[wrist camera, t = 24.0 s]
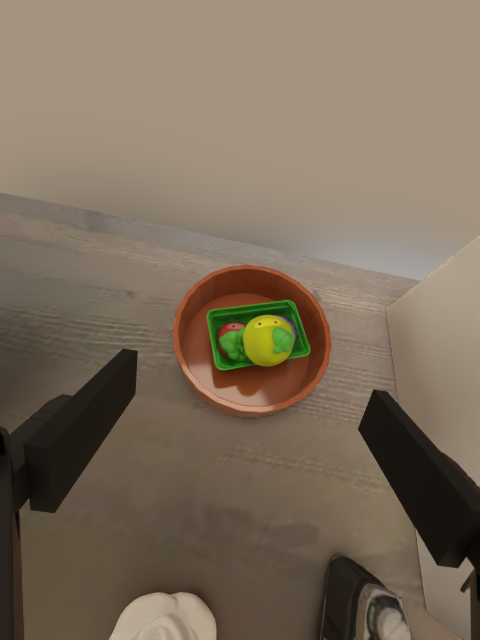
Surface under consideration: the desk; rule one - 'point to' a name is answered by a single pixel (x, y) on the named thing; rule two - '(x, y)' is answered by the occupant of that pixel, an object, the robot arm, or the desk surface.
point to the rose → (166, 618)
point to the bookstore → (443, 396)
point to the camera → (360, 606)
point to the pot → (253, 381)
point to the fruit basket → (256, 335)
